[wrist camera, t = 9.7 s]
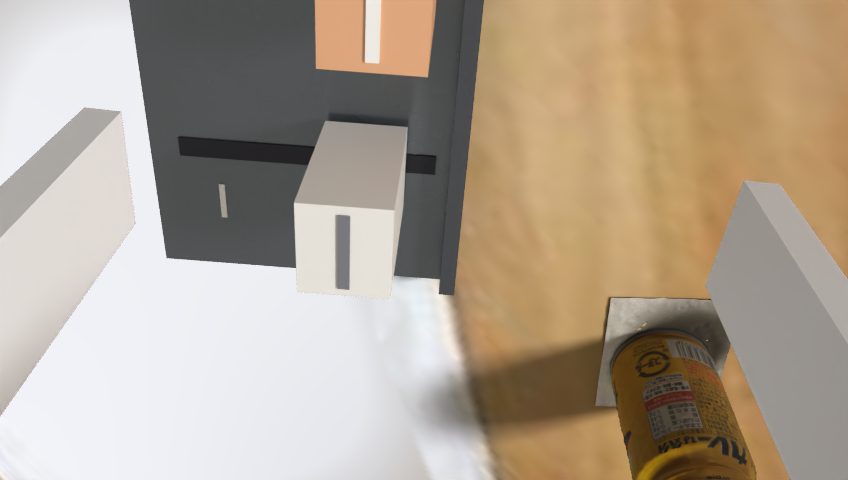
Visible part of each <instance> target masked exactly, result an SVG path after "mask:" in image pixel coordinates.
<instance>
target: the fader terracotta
mask: <svg viewBox="0 0 848 480" xmlns="http://www.w3.org/2000/svg"><path fill="white" fill-rule="evenodd" d="M435 13H436V0H315V38H316V69H325V70H339V71H352V72H365V73H378V74H392V75H405V76H418V77H428V72H429V63H430V55H431V47H432V38H433V30H434V22H435Z"/></svg>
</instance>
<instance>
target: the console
mask: <svg viewBox="0 0 848 480" xmlns="http://www.w3.org/2000/svg"><path fill="white" fill-rule="evenodd" d="M129 2H130V9H131V15H132V22H133V30H134V37H135V43H136V50H137V57H138V64H139V71H140V78H141V85H142V91H143V98H144V105H145V112H146V119H147V125H148V132H149V140H150V147H151V153H152V160H153V167H154V174H155V180H156V188H157V195H158V201H159V208H160V215H161V222H162V229H163V236H164V243H165V250H166V256H167V258H174V259H187V260H200V261H213V262H225V263H238V264H251V265H264V266H277V267H290V268H296V249H295V221H294V201H295V199H296V196H297V193H298V191H299V188H300V185H301V183H302V180H303V178H304V175H305V172H306V170H307V167H308V165H309V162H310V159H311V157H312V154H313V152H314V149H315V146H316V144H317V141H318V139H319V136H320V133H321V131H322V128H323V126H324V123H325V121H335V122H348V123H361V124H374V125H387V126H400V127H408V130H407V149H406V167H405V186H404V205H403V212H402V220H401V227H400V234H399V241H398V248H397V255H396V263H395V270H394V276H406V277H419V278H432V279H440V282H439V294H443V295H454V287H455V277H456V268H457V258H458V248H459V238H460V228H461V219H462V209H463V199H464V189H465V180H466V170H467V160H468V150H469V140H470V131H471V121H472V111H473V101H474V91H475V82H476V72H477V62H478V52H479V43H480V33H481V23H482V13H483V3H484V0H436V13H435V22H434V30H433V38H432V47H431V55H430V63H429V72H428V77H418V76H405V75H392V74H378V73H365V72H352V71H339V70H325V69H316V38H315V0H129Z"/></svg>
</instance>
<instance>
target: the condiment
mask: <svg viewBox="0 0 848 480" xmlns="http://www.w3.org/2000/svg"><path fill="white" fill-rule="evenodd" d="M644 323H647V324H646V325H645V326H644V327H642V325H643V324H644ZM638 328H641V330H639V331H637V329H638ZM707 339H708V341H706V340H707ZM729 349H730V341H729V338H728V336H727V334H726V332H725V329H724V327H723V325H722V322H721V320H720V318H719V316H718V313H717V311H716V309H715V307H714V304H713V302H712V300H697V299H668V298H656V299H645V298H611V302H610V310H609V315H608V323H607V330H606V336H605V342H604V349H603V354H602V360H601V367H600V374H599V380H598V388H597V394H596V402H595V406H616V407H617V410H618V417H619V419H620V426H621V431H622V433H623V436H624V443H625V445H626V450H627V456H628V459H629V463H630V470H631V473H632V479H633V480H756V477H757V476H756V474H757V473H756V469H755V465H754V463H753V460H752V458H751V455H750V452H749V450H748V447H747V445H746V443H745V440H744V437H743V435H742V433H741V430H740V428H739V425H738V423H737V420H736V417H735V414H734V412H733V410H732V407H731V405H730V402H729V400H728V397H727V395H726V392H725V390H724V387H723V384H722V381H721V379H720V378H721V375H722V371H723V369H724V364H725V361H726V358H727V354H728V352H729Z"/></svg>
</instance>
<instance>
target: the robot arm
mask: <svg viewBox="0 0 848 480" xmlns="http://www.w3.org/2000/svg"><path fill="white" fill-rule="evenodd" d="M134 225H135V216H134V208H133V201H132V193H131V186H130V177H129V169H128V161H127V154H126V146H125V138H124V130H123V122H122V115H121V112H119V111H110V110H101V109H91V108H84V109H83V110H81V111H80V112H79V113H78V114H77V115H76V116H75V117H74V118H73V119H72V120H71V121H70V122H69V123H68V124H66V125H65V126H64V127H63V128H62V129H61V130H60V131H59V132H58V133H57V134H56V135H55V136H54V137H53V138H52V139H50V140H49V141H48V142H47V143H46V144H45V145H44V146H43V147H42V148H41V149H40V150H39V151H38V152H37V153H36V154H34V155H33V156H32V157H31V158H30V159H29V160H28V161H27V162H26V163H25V164H24V165H23V166H22V167H20V169H18V170H17V171H16V172H15V173H14V174H13V175H12V176H11V177H10V178H9V179H8V180H7V181H6V182H4V183H3V184H2V185H1V186H0V416H1V414H2V413H3V412H4V410H5V409H6V407H7V406H8V404H9V403H10V401H11V400H12V399H13V397H14V396H15V394H16V393H17V392H18V390H19V389H20V387H21V386H22V385H23V383H24V382H25V380H26V379H27V377H28V376H29V374H30V373H31V372H32V370H33V369H34V367H35V366H36V364H37V363H38V362H39V360H40V359H41V357H42V356H43V355H44V353H45V352H46V350H47V349H48V347H49V346H50V345H51V343H52V342H53V340H54V339H55V337H56V336H57V335H58V333H59V332H60V330H61V329H62V328H63V326H64V325H65V323H66V322H67V320H68V319H69V318H70V316H71V315H72V313H73V312H74V310H75V309H76V308H77V306H78V305H79V303H80V302H81V300H82V299H83V298H84V296H85V295H86V293H87V292H88V290H89V289H90V288H91V286H92V285H93V283H94V282H95V280H96V279H97V278H98V276H99V275H100V273H101V272H102V271H103V269H104V268H105V266H106V265H107V263H108V262H109V260H110V259H111V258H112V256H113V255H114V253H115V252H116V250H117V249H118V248H119V246H120V245H121V243H122V242H123V241H124V239H125V238H126V236H127V235H128V233H129V232H130V230H131V229H132V228H133V226H134ZM705 286H706V288H707V291H708V293H709V295H710V297H711V300H712V302H713V304H714V307H715V309H716V311H717V313H718V316H719V318H720V320H721V322H722V325H723V327H724V329H725V332H726V334H727V336H728V338H729V341H730V343H731V345H732V348H733V350H734V352H735V354H736V357H737V359H738V361H739V364H740V366H741V368H742V370H743V373H744V375H745V377H746V380H747V382H748V384H749V386H750V389H751V391H752V393H753V395H754V398H755V400H756V402H757V405H758V407H759V409H760V411H761V414H762V416H763V418H764V421H765V423H766V425H767V427H768V430H769V432H770V434H771V437H772V439H773V441H774V443H775V446H776V448H777V450H778V453H779V455H780V457H781V459H782V462H783V464H784V466H785V468H786V471H787V473H788V475H789V478H790V480H848V279H847V278H846V276H845V275H844V273H843V272H842V271H841V269H840V268H839V266H838V265H837V264H836V262H835V261H834V259H833V258H832V257H831V255H830V254H829V252H828V251H827V250H826V248H825V247H824V245H823V244H822V242H821V241H820V240H819V238H818V237H817V235H816V234H815V233H814V231H813V230H812V228H811V227H810V226H809V224H808V223H807V221H806V220H805V219H804V217H803V216H802V214H801V213H800V212H799V210H798V209H797V207H796V206H795V205H794V203H793V202H792V200H791V199H790V197H789V196H788V195H787V193H786V192H785V190H784V189H783V188H782V186H781V185H780V184H773V183H764V182H755V181H746V180H744V182H743V185H742V187H741V190H740V193H739V195H738V198H737V201H736V204H735V206H734V209H733V212H732V214H731V217H730V220H729V222H728V225H727V228H726V231H725V233H724V236H723V239H722V241H721V244H720V247H719V250H718V252H717V255H716V258H715V260H714V263H713V266H712V269H711V271H710V274H709V277H708V279H707V282H706V285H705Z"/></svg>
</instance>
